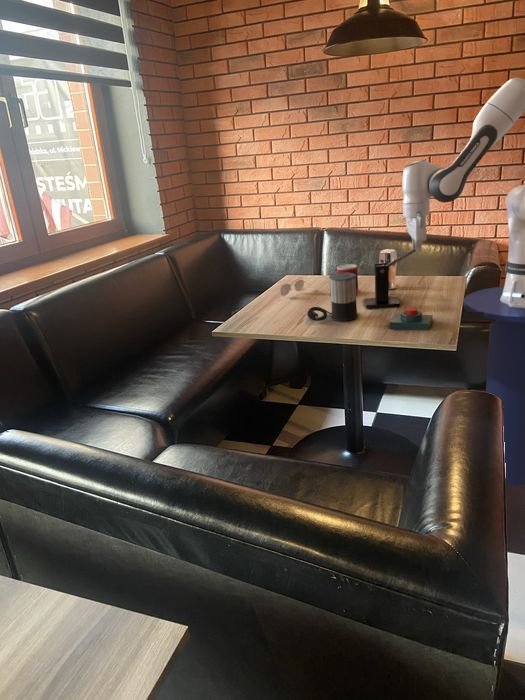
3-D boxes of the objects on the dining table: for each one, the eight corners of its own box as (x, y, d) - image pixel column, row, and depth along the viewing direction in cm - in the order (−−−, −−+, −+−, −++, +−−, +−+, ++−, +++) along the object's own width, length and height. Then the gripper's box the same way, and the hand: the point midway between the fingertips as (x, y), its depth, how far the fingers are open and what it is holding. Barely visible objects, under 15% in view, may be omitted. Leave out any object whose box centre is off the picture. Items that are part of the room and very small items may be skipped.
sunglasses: (304, 289, 227) (304, 278, 224) (317, 295, 221) (318, 284, 219) (278, 297, 219) (279, 285, 217) (292, 303, 213) (292, 291, 211)
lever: (419, 249, 191) (416, 243, 191) (421, 251, 187) (418, 246, 186) (379, 272, 196) (375, 267, 195) (380, 275, 191) (377, 270, 191)
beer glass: (386, 284, 222) (385, 248, 217) (400, 286, 218) (400, 249, 212) (376, 288, 218) (375, 252, 213) (391, 290, 213) (390, 253, 208)
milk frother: (363, 316, 185) (362, 274, 180) (328, 327, 178) (325, 284, 173) (337, 309, 197) (335, 269, 192) (302, 319, 189) (299, 278, 184)
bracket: (397, 299, 201) (397, 260, 196) (400, 306, 193) (400, 266, 187) (364, 301, 202) (363, 262, 197) (366, 308, 194) (365, 268, 189)
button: (418, 312, 172) (418, 307, 172) (416, 316, 169) (416, 311, 169) (406, 312, 174) (406, 307, 173) (404, 315, 171) (404, 310, 170)
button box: (432, 321, 174) (432, 309, 173) (428, 330, 167) (428, 318, 165) (395, 319, 179) (395, 308, 178) (389, 328, 172) (389, 316, 170)
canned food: (339, 290, 220) (338, 264, 216) (359, 290, 218) (358, 263, 214) (336, 295, 213) (335, 268, 209) (357, 295, 211) (355, 268, 207)
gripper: (431, 213, 174) (431, 255, 179) (420, 206, 193) (421, 244, 198) (411, 215, 175) (412, 257, 180) (403, 208, 194) (404, 246, 199)
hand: (416, 250), depth 189 cm, fingers closed on lever, 5 cm apart
